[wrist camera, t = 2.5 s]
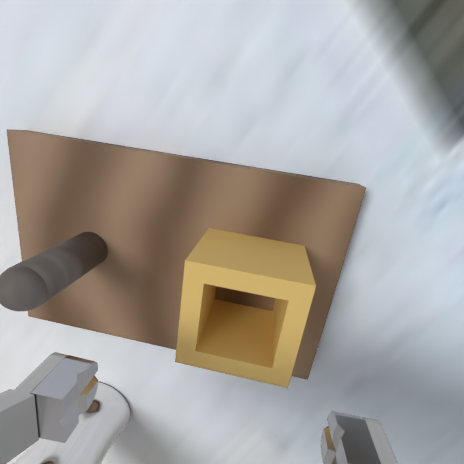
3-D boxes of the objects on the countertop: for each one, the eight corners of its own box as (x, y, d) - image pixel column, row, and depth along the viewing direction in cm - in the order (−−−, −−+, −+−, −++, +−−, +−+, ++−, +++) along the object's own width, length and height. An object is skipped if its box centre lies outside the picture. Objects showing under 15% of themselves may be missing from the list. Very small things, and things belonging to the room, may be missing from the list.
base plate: (358, 184, 17) (427, 219, 9) (305, 363, 21) (322, 486, 14) (26, 130, 19) (-142, 123, 11) (43, 305, 23) (-68, 385, 16)
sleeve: (304, 245, 17) (316, 286, 12) (284, 326, 19) (287, 387, 14) (209, 228, 18) (185, 260, 13) (199, 308, 20) (175, 361, 15)
